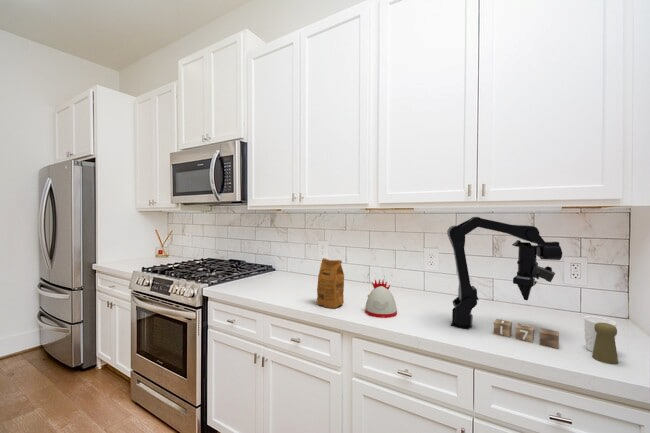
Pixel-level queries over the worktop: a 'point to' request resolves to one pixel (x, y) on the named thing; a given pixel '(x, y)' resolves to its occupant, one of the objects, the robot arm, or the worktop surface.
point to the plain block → (549, 338)
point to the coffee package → (330, 284)
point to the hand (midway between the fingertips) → (526, 300)
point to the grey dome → (381, 302)
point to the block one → (502, 328)
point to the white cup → (590, 331)
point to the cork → (605, 343)
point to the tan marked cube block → (524, 333)
